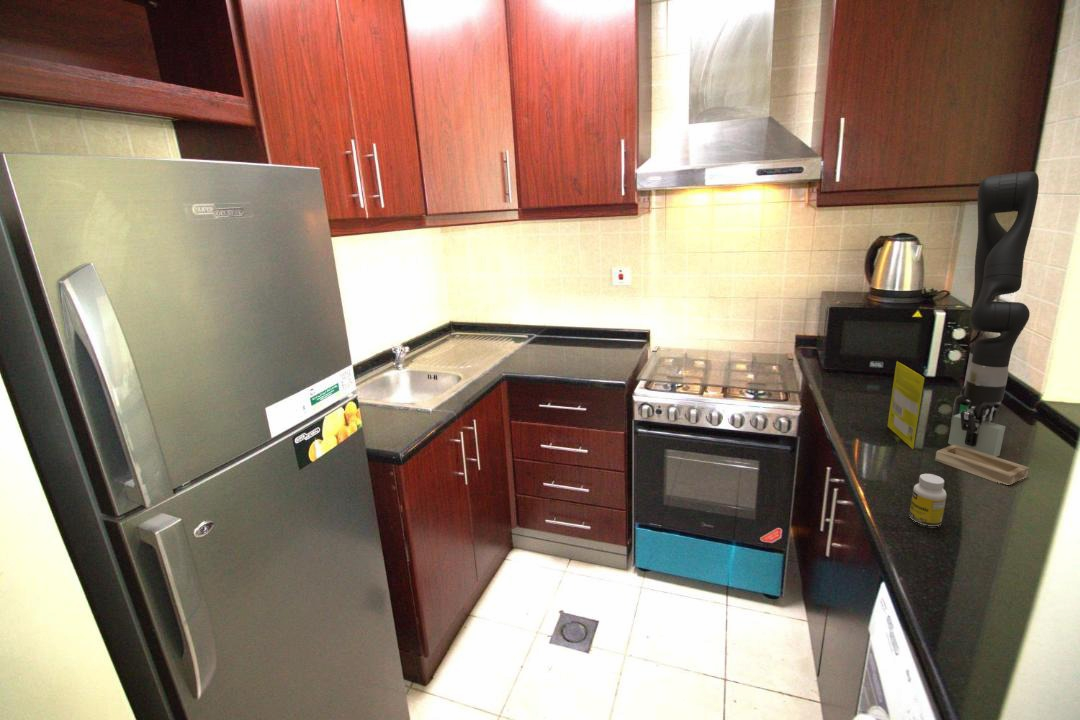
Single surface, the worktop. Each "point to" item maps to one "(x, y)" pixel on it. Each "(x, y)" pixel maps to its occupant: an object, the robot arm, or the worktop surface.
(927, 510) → the supplement bottle
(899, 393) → the food package
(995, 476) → the track
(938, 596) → the worktop surface
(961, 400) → the supplement bottle
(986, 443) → the door panel
